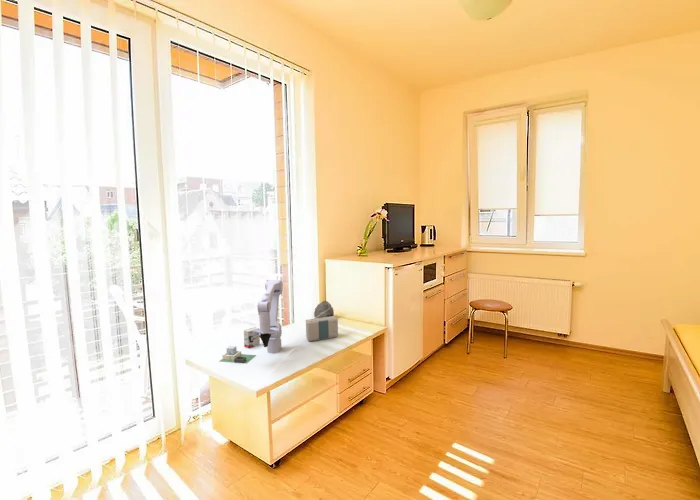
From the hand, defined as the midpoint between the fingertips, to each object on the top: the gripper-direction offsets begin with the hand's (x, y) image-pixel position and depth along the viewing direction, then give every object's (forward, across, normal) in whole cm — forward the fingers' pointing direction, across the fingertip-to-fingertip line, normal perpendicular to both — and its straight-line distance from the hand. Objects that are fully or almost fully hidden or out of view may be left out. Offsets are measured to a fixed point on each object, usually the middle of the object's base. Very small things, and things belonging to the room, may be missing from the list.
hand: (265, 346), depth 201 cm
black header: (+9, -15, -2) cm, 18 cm away
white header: (+9, -23, +3) cm, 25 cm away
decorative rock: (+10, +8, +88) cm, 89 cm away
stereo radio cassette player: (+10, +19, +45) cm, 50 cm away
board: (+10, -19, +2) cm, 21 cm away
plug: (+9, -23, +3) cm, 25 cm away
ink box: (+10, -20, +22) cm, 31 cm away
